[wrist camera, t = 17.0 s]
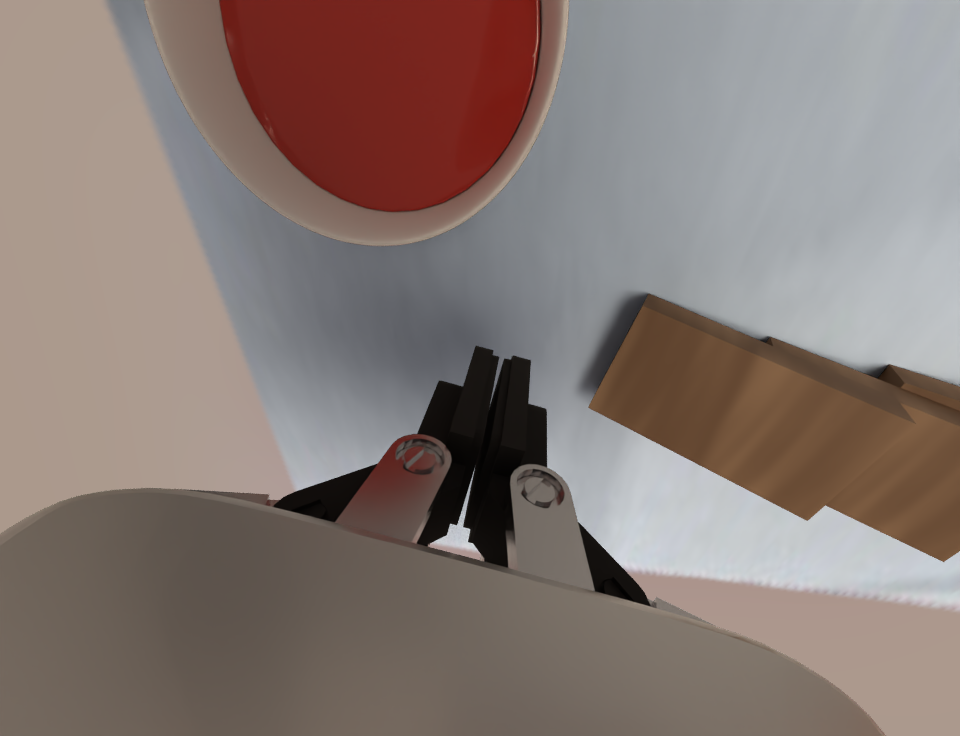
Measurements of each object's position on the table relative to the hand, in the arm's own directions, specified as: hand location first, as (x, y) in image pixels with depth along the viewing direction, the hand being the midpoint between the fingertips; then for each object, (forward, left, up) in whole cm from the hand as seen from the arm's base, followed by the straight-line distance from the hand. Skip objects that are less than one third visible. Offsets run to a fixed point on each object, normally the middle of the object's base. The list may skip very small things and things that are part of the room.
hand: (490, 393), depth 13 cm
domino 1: (+5, 0, -6) cm, 7 cm away
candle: (-5, +8, -7) cm, 11 cm away
